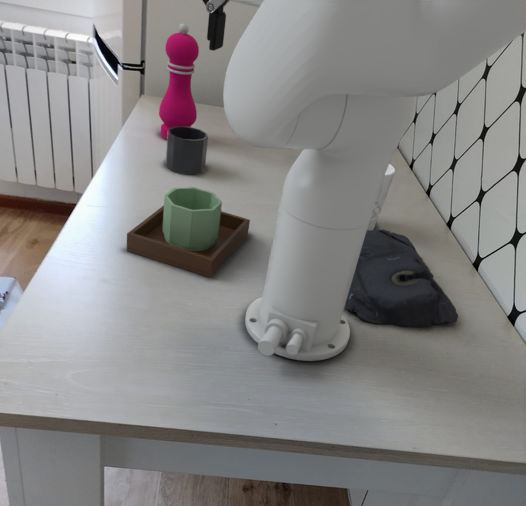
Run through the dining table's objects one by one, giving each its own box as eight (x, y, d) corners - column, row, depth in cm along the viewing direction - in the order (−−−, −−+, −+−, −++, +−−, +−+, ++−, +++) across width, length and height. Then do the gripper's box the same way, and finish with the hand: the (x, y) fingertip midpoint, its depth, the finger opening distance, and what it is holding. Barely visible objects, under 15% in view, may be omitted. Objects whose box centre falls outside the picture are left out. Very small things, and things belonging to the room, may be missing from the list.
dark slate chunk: (415, 249, 93) (425, 222, 90) (461, 332, 76) (475, 302, 73) (321, 238, 91) (328, 210, 88) (346, 321, 73) (356, 289, 70)
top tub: (203, 256, 79) (207, 215, 76) (155, 241, 81) (157, 200, 77) (222, 235, 85) (227, 196, 81) (177, 221, 86) (180, 182, 82)
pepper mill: (155, 129, 117) (159, 16, 105) (190, 131, 120) (199, 21, 108) (161, 142, 112) (167, 25, 100) (198, 144, 115) (208, 30, 102)
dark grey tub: (194, 177, 101) (197, 143, 98) (159, 167, 102) (160, 133, 99) (210, 166, 107) (213, 133, 103) (176, 156, 108) (178, 123, 104)
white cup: (376, 239, 93) (394, 179, 87) (328, 227, 94) (342, 167, 88) (378, 219, 100) (395, 162, 94) (333, 208, 100) (347, 151, 94)
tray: (210, 277, 76) (212, 260, 75) (126, 250, 79) (126, 233, 77) (247, 235, 88) (250, 219, 86) (173, 212, 90) (174, 196, 88)
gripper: (186, -133, 61) (175, 46, 72) (346, -101, 59) (311, 79, 69) (212, -127, 67) (198, 38, 77) (358, -98, 65) (324, 68, 75)
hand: (251, 57), depth 73 cm, fingers open, 9 cm apart
